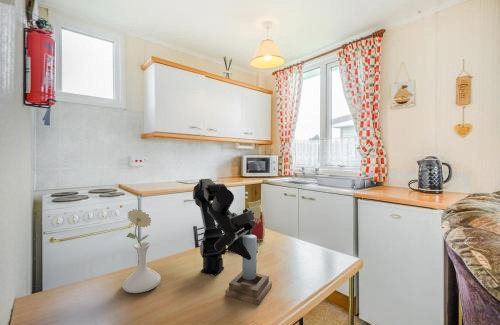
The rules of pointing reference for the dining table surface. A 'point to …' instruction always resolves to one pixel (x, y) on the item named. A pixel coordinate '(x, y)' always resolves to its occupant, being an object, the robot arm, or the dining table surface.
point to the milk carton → (258, 219)
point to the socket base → (249, 288)
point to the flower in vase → (140, 259)
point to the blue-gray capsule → (250, 265)
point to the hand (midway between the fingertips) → (253, 256)
